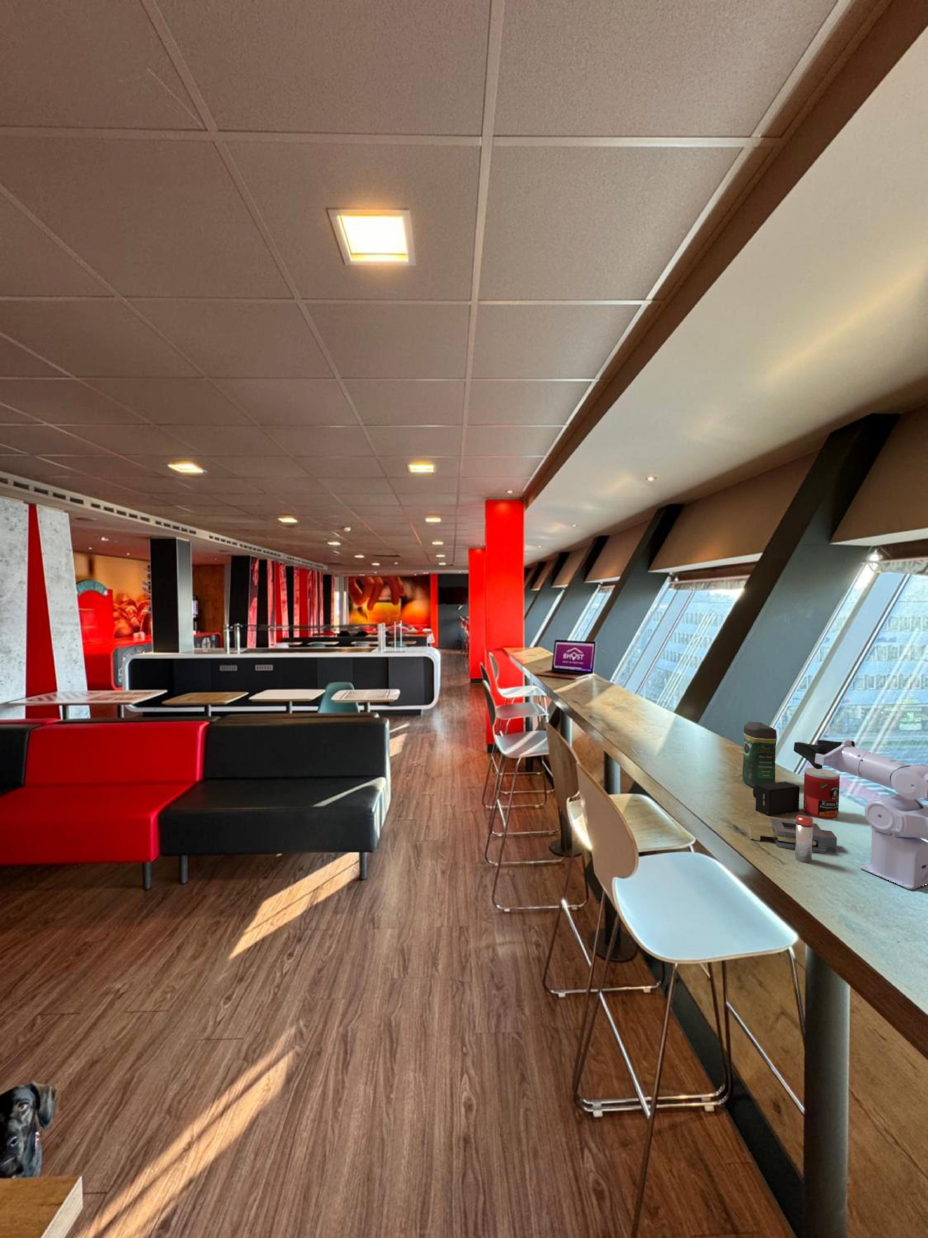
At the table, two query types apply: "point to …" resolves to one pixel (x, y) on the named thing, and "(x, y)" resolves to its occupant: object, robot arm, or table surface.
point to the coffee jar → (759, 754)
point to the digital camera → (776, 798)
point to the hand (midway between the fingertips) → (806, 745)
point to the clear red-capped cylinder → (804, 838)
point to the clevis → (793, 835)
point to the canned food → (821, 793)
